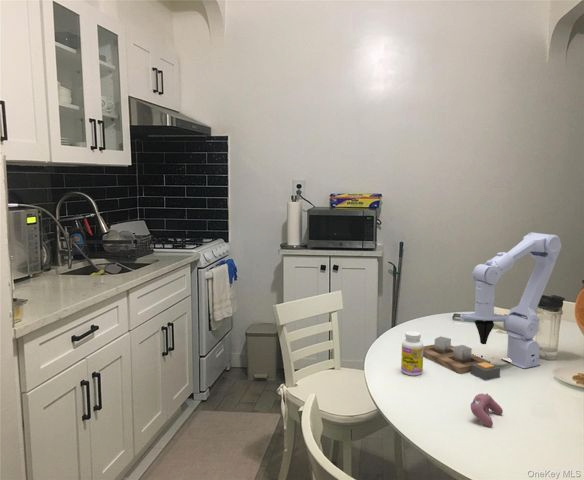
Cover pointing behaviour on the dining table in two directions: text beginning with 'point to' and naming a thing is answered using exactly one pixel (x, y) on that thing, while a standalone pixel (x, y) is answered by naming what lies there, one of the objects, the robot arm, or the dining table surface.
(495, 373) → the button housing
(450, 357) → the brown board with cutouts
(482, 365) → the button
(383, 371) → the dining table surface
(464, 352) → the block
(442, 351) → the steel billet
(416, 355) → the supplement bottle
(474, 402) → the video game controller
